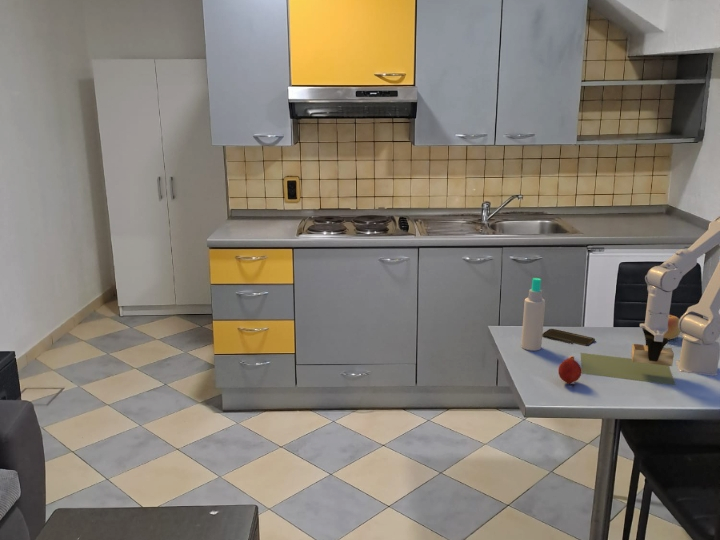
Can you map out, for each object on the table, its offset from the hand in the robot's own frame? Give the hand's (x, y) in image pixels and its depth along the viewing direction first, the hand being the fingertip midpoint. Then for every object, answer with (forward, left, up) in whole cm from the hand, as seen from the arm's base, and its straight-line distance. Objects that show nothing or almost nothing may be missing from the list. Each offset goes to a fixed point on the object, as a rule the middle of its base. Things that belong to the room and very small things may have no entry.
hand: (651, 357), depth 178 cm
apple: (-8, -33, -6) cm, 35 cm away
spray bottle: (+33, -11, -6) cm, 35 cm away
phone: (+22, -23, -6) cm, 32 cm away
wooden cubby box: (0, 0, -1) cm, 1 cm away
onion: (+22, +13, -6) cm, 26 cm away
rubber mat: (+6, -2, -5) cm, 8 cm away
